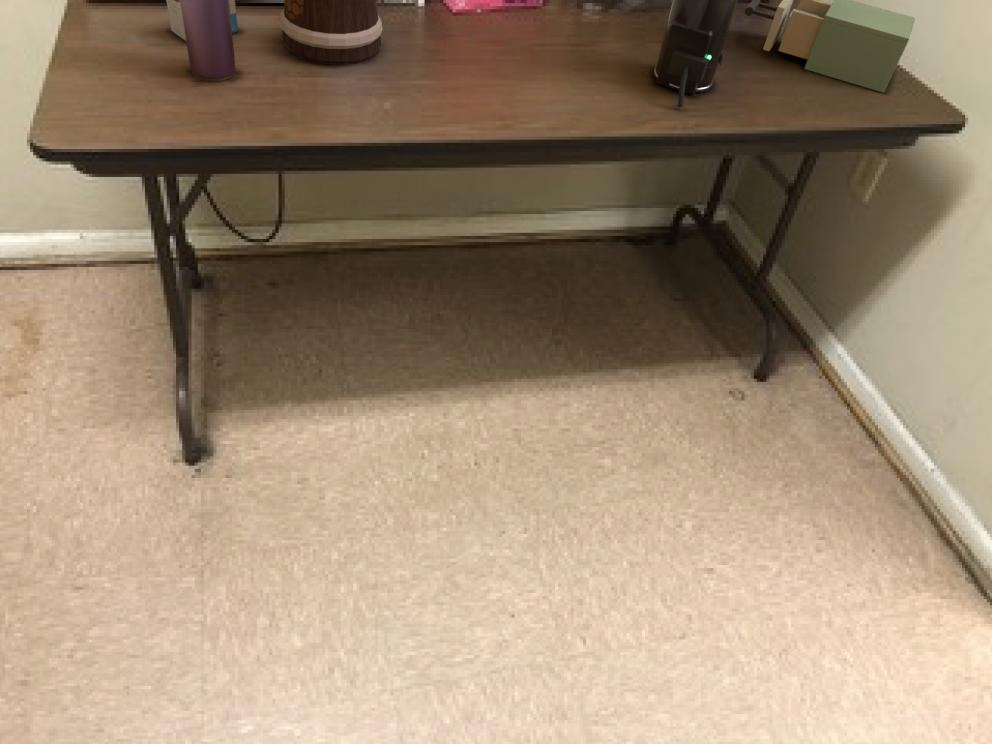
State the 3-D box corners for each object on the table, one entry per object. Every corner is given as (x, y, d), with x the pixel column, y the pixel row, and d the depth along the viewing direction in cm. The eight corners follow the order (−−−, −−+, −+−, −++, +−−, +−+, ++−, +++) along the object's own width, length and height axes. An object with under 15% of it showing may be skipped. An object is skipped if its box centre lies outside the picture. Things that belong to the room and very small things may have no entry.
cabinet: (804, 69, 140) (825, 15, 133) (815, 47, 148) (836, -5, 141) (883, 92, 136) (909, 38, 130) (891, 69, 144) (915, 17, 138)
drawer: (733, 40, 143) (746, -3, 138) (746, 23, 150) (760, -19, 145) (834, 70, 138) (852, 27, 133) (843, 51, 145) (860, 9, 140)
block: (804, 48, 141) (814, 23, 138) (780, 41, 142) (789, 15, 139) (809, 40, 144) (818, 15, 141) (784, 33, 145) (793, 8, 142)
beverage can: (224, 86, 110) (211, -31, 100) (182, 77, 111) (165, -40, 100) (243, 69, 115) (232, -45, 104) (203, 60, 115) (188, -54, 105)
